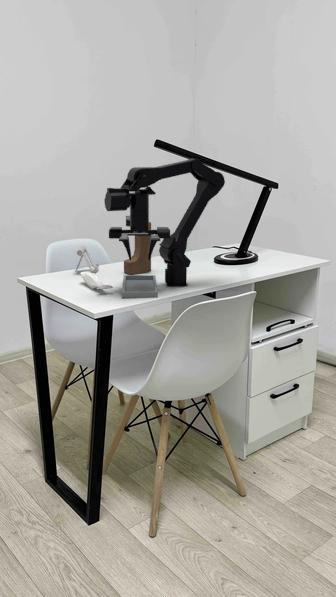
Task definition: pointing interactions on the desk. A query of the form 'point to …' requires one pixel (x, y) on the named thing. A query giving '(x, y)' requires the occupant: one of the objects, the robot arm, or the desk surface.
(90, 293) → the desk surface
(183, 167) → the robot arm
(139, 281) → the razor tray
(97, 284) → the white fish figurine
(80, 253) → the portable electronic device stand
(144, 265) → the brown boot
